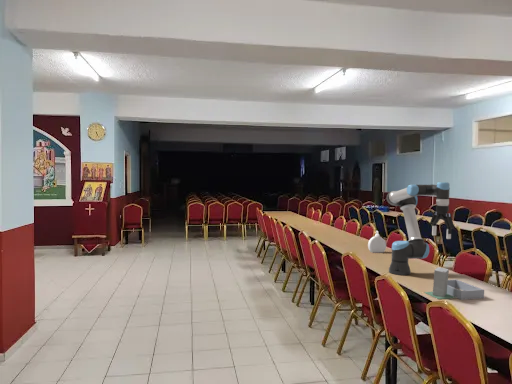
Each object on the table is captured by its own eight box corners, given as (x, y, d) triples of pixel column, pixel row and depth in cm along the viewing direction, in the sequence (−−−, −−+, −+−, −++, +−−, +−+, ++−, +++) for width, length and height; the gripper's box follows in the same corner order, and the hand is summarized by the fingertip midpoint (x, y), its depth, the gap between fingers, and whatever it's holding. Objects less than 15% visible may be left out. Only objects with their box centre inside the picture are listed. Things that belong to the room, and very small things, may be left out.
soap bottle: (383, 251, 348) (384, 230, 347) (386, 252, 343) (386, 231, 342) (367, 251, 347) (368, 230, 346) (369, 252, 342) (370, 231, 341)
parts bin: (434, 288, 234) (435, 280, 234) (456, 286, 238) (456, 279, 238) (461, 299, 213) (461, 291, 213) (483, 298, 216) (484, 289, 216)
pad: (424, 292, 225) (424, 292, 225) (441, 291, 227) (441, 291, 227) (438, 299, 213) (438, 298, 213) (455, 298, 216) (455, 297, 216)
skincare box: (435, 291, 225) (436, 266, 225) (448, 294, 221) (449, 268, 220) (431, 295, 219) (432, 269, 218) (444, 298, 214) (445, 271, 214)
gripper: (424, 203, 253) (423, 234, 254) (451, 207, 229) (450, 240, 230) (434, 203, 255) (433, 233, 256) (461, 207, 230) (460, 240, 231)
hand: (441, 237), depth 243 cm, fingers open, 13 cm apart
